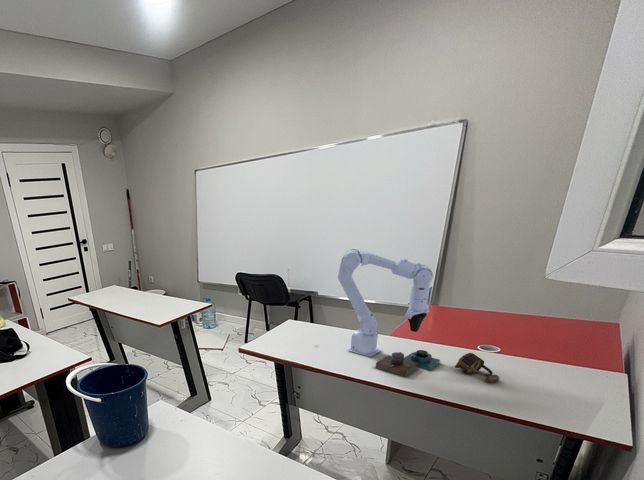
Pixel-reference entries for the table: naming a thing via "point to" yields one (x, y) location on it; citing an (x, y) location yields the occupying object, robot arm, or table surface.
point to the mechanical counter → (475, 366)
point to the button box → (423, 361)
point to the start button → (421, 353)
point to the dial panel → (397, 366)
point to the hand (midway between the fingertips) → (414, 331)
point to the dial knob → (397, 358)
